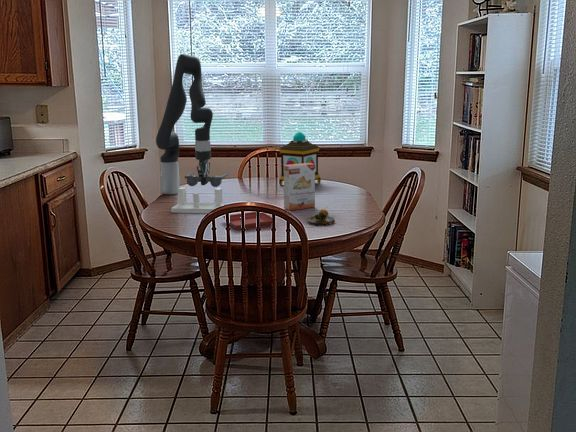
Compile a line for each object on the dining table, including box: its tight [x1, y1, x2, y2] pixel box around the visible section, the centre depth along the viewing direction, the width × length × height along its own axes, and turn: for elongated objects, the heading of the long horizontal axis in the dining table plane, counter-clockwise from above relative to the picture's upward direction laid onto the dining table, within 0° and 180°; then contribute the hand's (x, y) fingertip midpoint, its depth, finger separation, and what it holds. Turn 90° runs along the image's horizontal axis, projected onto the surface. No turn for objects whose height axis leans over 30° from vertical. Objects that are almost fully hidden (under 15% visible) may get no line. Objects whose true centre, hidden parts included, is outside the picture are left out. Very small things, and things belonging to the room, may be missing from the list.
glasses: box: [184, 171, 229, 188], centre depth 295 cm, size 19×11×5 cm, turn 80°
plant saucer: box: [222, 211, 273, 231], centre depth 251 cm, size 18×18×3 cm
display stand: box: [170, 186, 227, 214], centre depth 278 cm, size 23×12×10 cm, turn 80°
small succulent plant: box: [306, 206, 336, 227], centre depth 251 cm, size 12×12×8 cm
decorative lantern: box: [278, 131, 321, 186], centre depth 334 cm, size 20×20×30 cm
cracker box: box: [283, 163, 316, 211], centre depth 276 cm, size 14×6×21 cm, turn 117°
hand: (204, 184), depth 291 cm, fingers closed on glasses, 3 cm apart
